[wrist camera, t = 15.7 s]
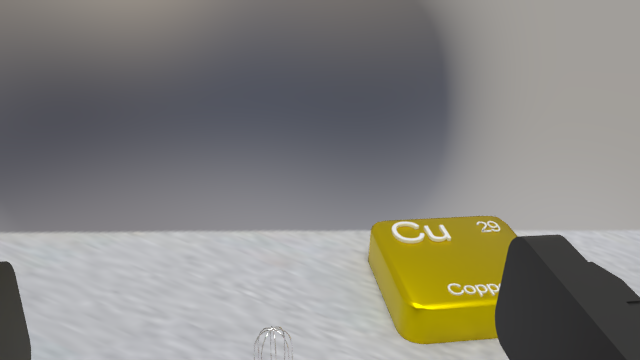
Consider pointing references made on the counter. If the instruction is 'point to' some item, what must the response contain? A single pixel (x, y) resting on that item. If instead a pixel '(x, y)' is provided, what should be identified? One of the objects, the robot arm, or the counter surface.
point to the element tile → (441, 275)
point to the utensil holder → (270, 342)
